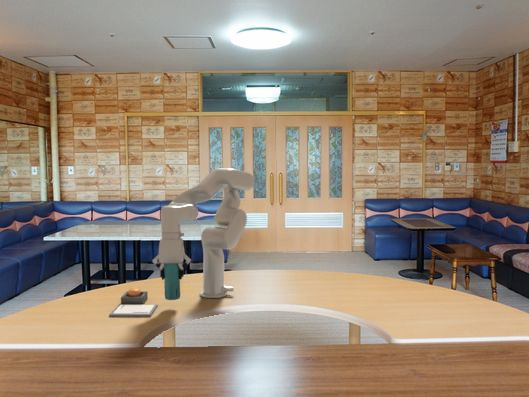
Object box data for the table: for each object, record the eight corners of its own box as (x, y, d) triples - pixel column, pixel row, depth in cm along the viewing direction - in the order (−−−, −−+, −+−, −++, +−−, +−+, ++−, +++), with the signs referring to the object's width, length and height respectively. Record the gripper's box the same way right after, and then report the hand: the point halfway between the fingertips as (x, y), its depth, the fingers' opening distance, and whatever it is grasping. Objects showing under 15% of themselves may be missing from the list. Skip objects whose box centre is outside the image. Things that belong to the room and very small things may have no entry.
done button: (141, 293, 189) (141, 288, 189) (139, 297, 184) (138, 291, 184) (130, 293, 189) (130, 288, 189) (127, 297, 184) (127, 291, 184)
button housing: (147, 299, 192) (147, 291, 191) (142, 305, 183) (142, 297, 182) (126, 299, 191) (126, 291, 191) (121, 305, 182) (120, 297, 182)
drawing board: (157, 306, 182) (157, 303, 182) (150, 316, 169) (150, 314, 169) (119, 306, 181) (119, 303, 181) (109, 316, 168) (109, 314, 168)
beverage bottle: (176, 304, 176) (176, 255, 174) (161, 303, 177) (160, 255, 175) (183, 299, 182) (182, 252, 180) (168, 298, 183) (167, 251, 181)
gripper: (193, 234, 181) (194, 276, 183) (151, 234, 180) (152, 276, 182) (191, 237, 173) (192, 281, 175) (147, 237, 173) (148, 281, 174)
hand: (172, 278), depth 178 cm, fingers closed on beverage bottle, 6 cm apart
